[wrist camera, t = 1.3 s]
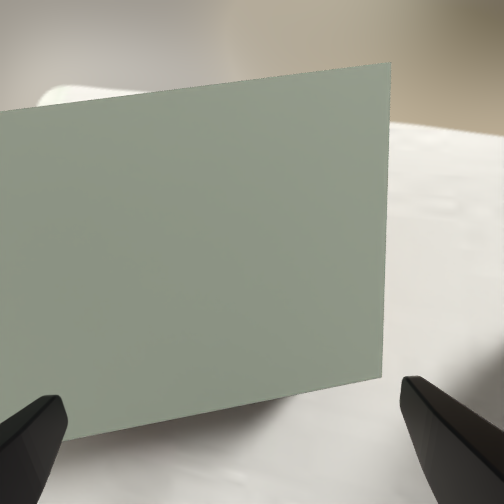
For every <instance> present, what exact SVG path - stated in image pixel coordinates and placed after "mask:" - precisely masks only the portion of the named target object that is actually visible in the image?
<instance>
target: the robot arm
mask: <svg viewBox="0 0 504 504" xmlns="http://www.w3.org/2000/svg"><path fill="white" fill-rule="evenodd" d="M400 409H401V412H402V415H403V418H404V420H405V423H406V426H407V429H408V431H409V434H410V437H411V440H412V443H413V445H414V448H415V451H416V454H417V456H418V459H419V462H420V464H421V467H422V470H423V472H424V474H425V477H426V479H427V481H428V483H429V485H430V487H431V490H432V492H433V494H434V496H435V498H436V500H437V502H438V504H504V432H503V431H502V430H500V429H499V428H497V427H496V426H494V425H493V424H491V423H490V422H488V421H487V420H485V419H484V418H482V417H481V416H479V415H478V414H476V413H475V412H473V411H472V410H470V409H469V408H467V407H466V406H464V405H463V404H461V403H460V402H458V401H457V400H455V399H454V398H452V397H451V396H450V395H448V394H447V393H445V392H444V391H442V390H441V389H439V388H438V387H436V386H435V385H433V384H432V383H430V382H429V381H427V380H426V379H424V378H422V377H421V376H405V377H404V378H403V379H402V384H401V393H400ZM67 426H68V416H67V413H66V410H65V407H64V404H63V401H62V398H61V397H60V396H59V395H44V396H41V397H39V398H38V399H36V400H35V401H33V402H32V403H30V404H29V405H27V406H26V407H24V408H23V409H21V410H20V411H18V412H17V413H15V414H14V415H12V416H11V417H9V418H8V419H6V420H5V421H3V422H2V423H0V504H37V502H38V500H39V498H40V496H41V494H42V491H43V489H44V487H45V484H46V482H47V480H48V477H49V474H50V472H51V469H52V466H53V464H54V461H55V458H56V456H57V453H58V451H59V448H60V445H61V443H62V440H63V437H64V435H65V432H66V429H67Z"/></svg>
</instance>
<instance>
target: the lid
mask: <svg viewBox="0 0 504 504" xmlns="http://www.w3.org/2000/svg"><path fill="white" fill-rule="evenodd" d="M390 88H391V62H388V63H380V64H372V65H364V66H356V67H348V68H340V69H332V70H324V71H316V72H309V73H301V74H293V75H285V76H277V77H269V78H261V79H253V80H246V81H238V82H230V83H222V84H214V85H206V86H198V87H190V88H182V89H174V90H167V91H158V92H151V93H143V94H135V95H127V96H119V97H111V98H103V99H95V100H87V101H79V102H72V103H64V104H56V105H48V106H40V107H32V108H24V109H16V110H8V111H1V112H0V423H2V422H3V421H5V420H6V419H8V418H9V417H11V416H12V415H14V414H15V413H17V412H18V411H20V410H21V409H23V408H24V407H26V406H27V405H29V404H30V403H32V402H33V401H35V400H36V399H38V398H39V397H41V396H44V395H59V396H60V397H61V398H62V401H63V404H64V407H65V410H66V413H67V416H68V426H67V429H66V432H65V435H64V437H63V440H62V441H67V440H72V439H77V438H82V437H87V436H92V435H97V434H102V433H107V432H112V431H117V430H122V429H127V428H132V427H137V426H142V425H147V424H152V423H157V422H162V421H167V420H172V419H177V418H182V417H187V416H192V415H197V414H202V413H207V412H212V411H217V410H222V409H227V408H232V407H237V406H242V405H247V404H252V403H257V402H262V401H267V400H272V399H277V398H282V397H287V396H292V395H297V394H302V393H307V392H312V391H317V390H321V389H326V388H331V387H336V386H341V385H346V384H351V383H356V382H361V381H366V380H371V379H376V378H381V377H382V353H383V320H384V287H385V254H386V220H387V187H388V154H389V121H390Z"/></svg>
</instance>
